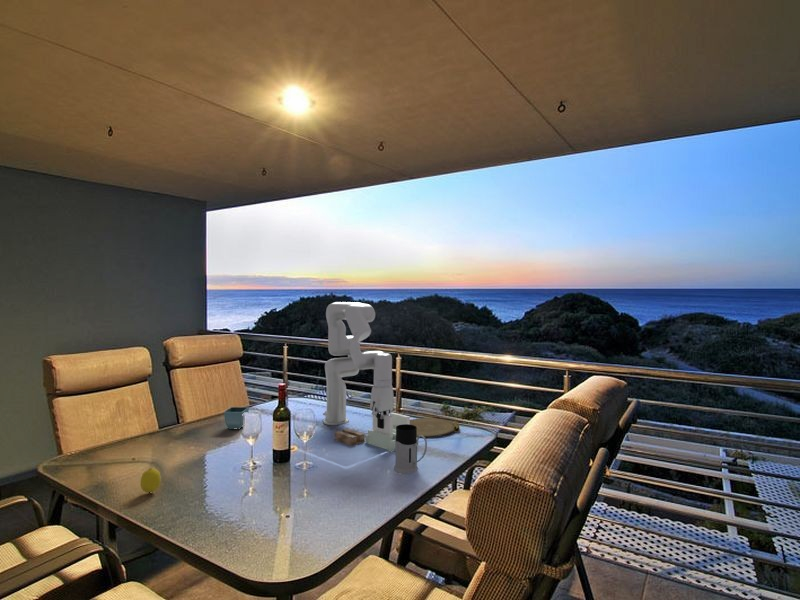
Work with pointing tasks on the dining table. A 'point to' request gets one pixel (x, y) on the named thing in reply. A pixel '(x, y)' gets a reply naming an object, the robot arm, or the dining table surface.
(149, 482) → the lemon
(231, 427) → the flower pot
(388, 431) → the tall white panel
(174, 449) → the dining table surface
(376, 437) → the rack
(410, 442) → the grey black mug
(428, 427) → the decorative disc
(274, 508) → the dining table surface
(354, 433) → the stand
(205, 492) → the dining table surface
